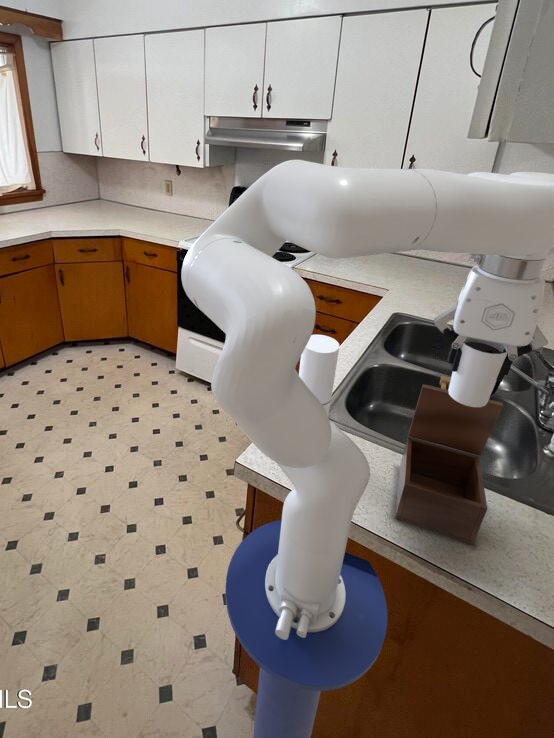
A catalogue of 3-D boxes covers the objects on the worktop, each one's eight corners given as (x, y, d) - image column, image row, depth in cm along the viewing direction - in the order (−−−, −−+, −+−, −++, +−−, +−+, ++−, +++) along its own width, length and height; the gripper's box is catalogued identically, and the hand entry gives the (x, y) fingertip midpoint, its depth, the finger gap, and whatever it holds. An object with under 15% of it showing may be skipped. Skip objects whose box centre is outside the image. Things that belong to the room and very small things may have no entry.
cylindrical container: (321, 456, 90) (337, 355, 79) (288, 447, 92) (299, 348, 81) (325, 434, 96) (341, 338, 86) (294, 426, 98) (305, 332, 88)
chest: (472, 545, 72) (487, 509, 69) (395, 518, 77) (404, 483, 73) (467, 490, 83) (479, 456, 79) (399, 469, 87) (407, 436, 84)
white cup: (492, 392, 70) (510, 340, 66) (489, 414, 65) (508, 359, 61) (448, 379, 74) (463, 328, 69) (442, 399, 69) (457, 345, 64)
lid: (503, 405, 71) (500, 381, 76) (422, 386, 76) (424, 365, 80) (480, 456, 79) (478, 431, 83) (408, 436, 83) (410, 413, 88)
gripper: (444, 263, 60) (416, 371, 67) (592, 283, 54) (543, 399, 61) (442, 248, 66) (417, 349, 74) (575, 265, 60) (532, 373, 68)
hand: (475, 371), depth 67 cm, fingers closed on white cup, 5 cm apart
